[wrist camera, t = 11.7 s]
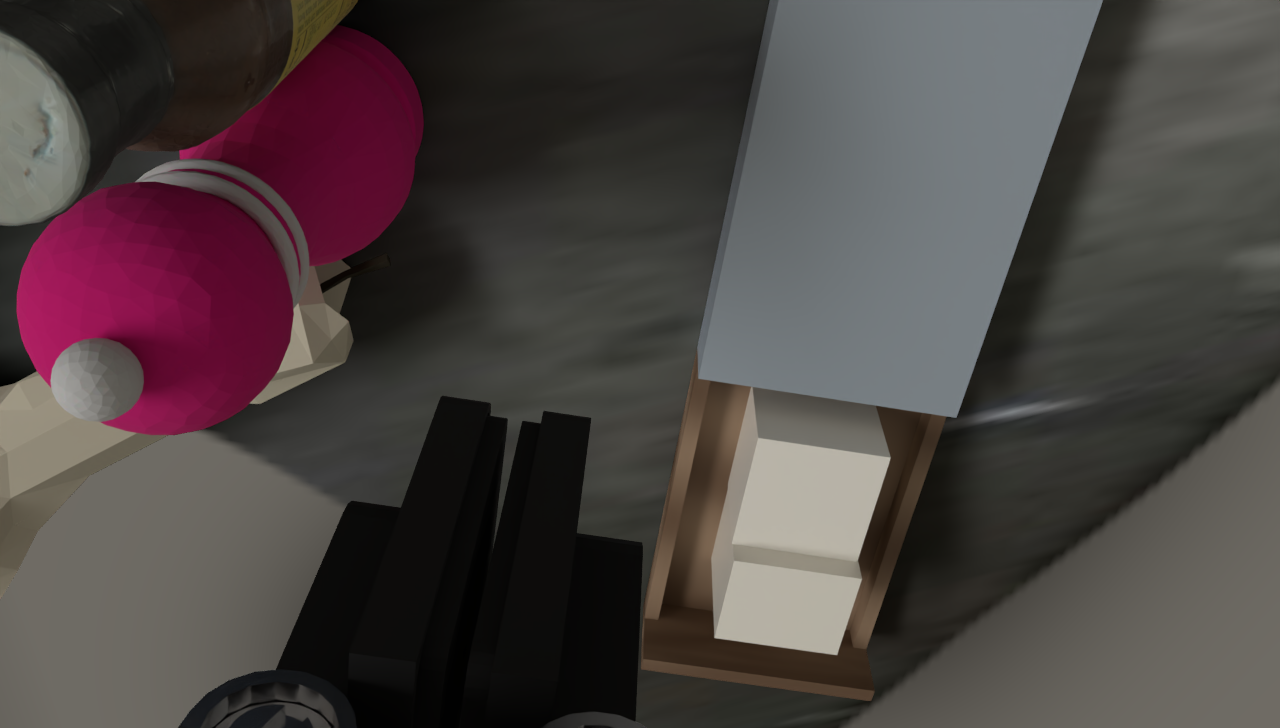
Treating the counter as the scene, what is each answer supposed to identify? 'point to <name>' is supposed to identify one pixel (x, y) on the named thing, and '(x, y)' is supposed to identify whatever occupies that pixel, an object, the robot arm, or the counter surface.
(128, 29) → the sauce bottle
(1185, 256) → the counter surface
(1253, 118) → the counter surface
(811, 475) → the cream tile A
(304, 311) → the cream faceted tapered piece
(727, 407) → the walnut box
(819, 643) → the cream square block
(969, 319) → the slate bench
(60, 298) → the pepper mill
